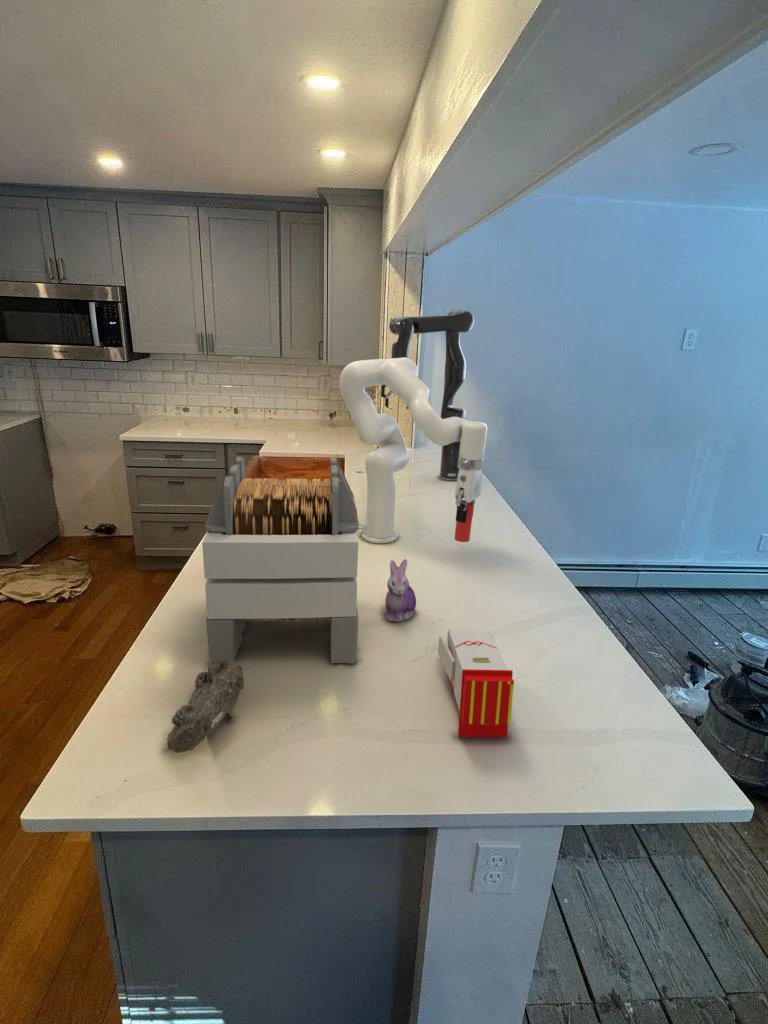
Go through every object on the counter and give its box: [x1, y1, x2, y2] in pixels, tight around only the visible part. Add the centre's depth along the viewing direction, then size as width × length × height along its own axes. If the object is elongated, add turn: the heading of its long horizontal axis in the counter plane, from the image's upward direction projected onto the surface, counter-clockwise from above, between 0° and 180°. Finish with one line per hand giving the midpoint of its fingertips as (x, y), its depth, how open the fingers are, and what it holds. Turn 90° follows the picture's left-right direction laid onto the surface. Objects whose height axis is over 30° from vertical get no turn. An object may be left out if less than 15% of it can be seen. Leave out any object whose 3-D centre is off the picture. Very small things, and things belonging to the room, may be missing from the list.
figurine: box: [384, 558, 417, 623], centre depth 145 cm, size 9×10×15 cm
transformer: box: [201, 455, 360, 666], centre depth 133 cm, size 34×33×41 cm
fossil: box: [166, 659, 245, 754], centre depth 106 cm, size 22×10×15 cm
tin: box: [453, 502, 475, 543], centre depth 177 cm, size 5×5×12 cm
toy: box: [437, 628, 515, 738], centre depth 117 cm, size 12×13×30 cm
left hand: (464, 518), depth 177 cm, fingers closed on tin, 4 cm apart
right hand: (397, 408), depth 238 cm, fingers open, 8 cm apart
